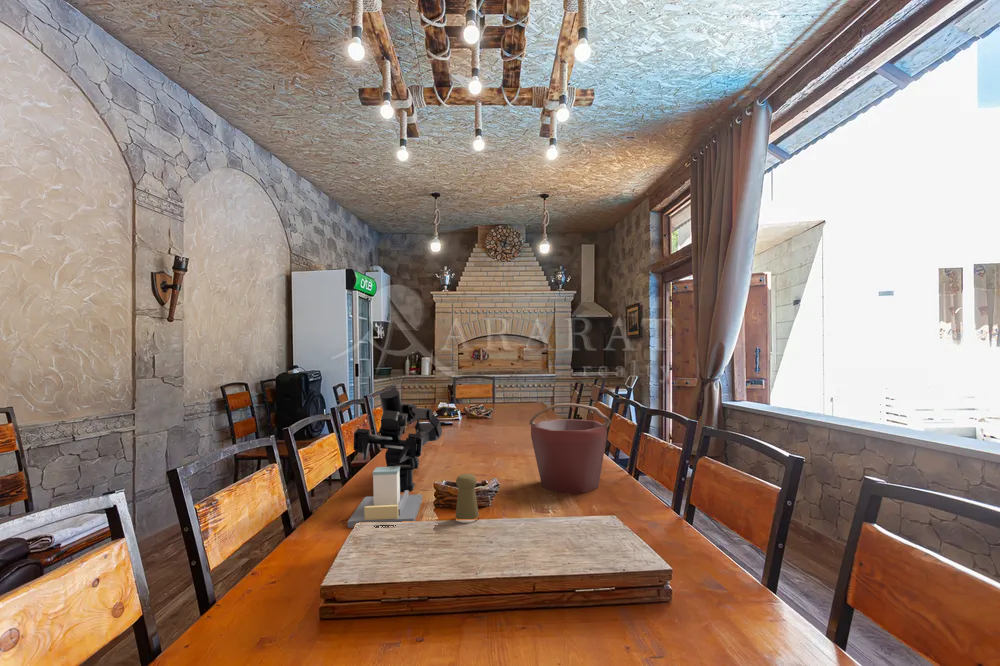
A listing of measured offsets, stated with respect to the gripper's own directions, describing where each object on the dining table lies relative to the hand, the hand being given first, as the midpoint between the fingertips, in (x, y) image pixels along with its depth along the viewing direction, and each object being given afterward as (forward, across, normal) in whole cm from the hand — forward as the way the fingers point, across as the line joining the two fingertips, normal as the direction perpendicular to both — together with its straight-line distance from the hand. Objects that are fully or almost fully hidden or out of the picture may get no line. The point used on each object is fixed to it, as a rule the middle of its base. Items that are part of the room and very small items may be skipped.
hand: (381, 459), depth 127 cm
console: (+4, +3, +13) cm, 14 cm away
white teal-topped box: (+4, +3, +11) cm, 12 cm away
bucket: (-14, +55, +13) cm, 58 cm away
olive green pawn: (+10, +24, +8) cm, 27 cm away
